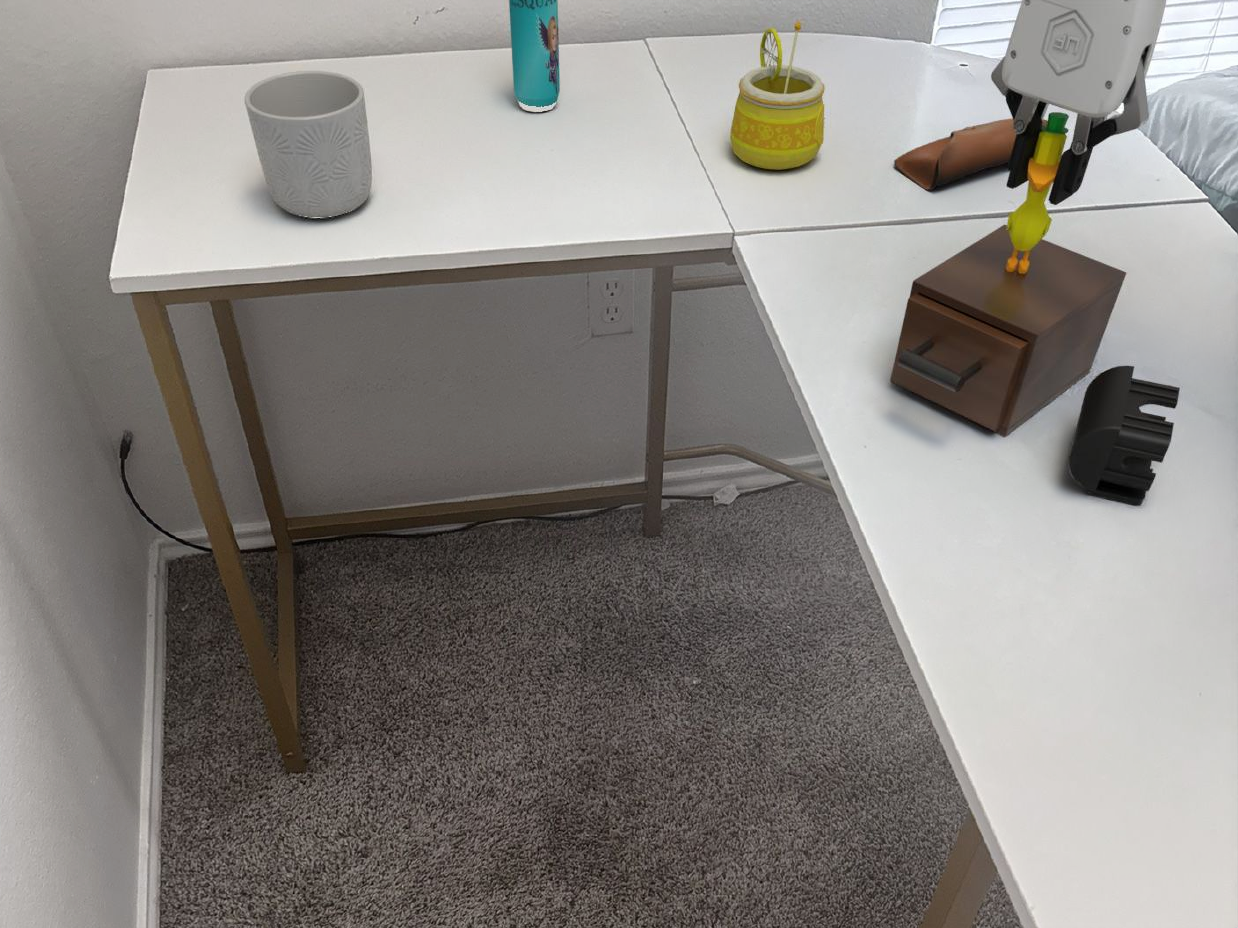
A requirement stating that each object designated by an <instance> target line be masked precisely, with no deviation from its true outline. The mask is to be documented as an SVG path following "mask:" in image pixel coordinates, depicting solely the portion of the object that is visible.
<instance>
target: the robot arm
mask: <svg viewBox="0 0 1238 928" xmlns="http://www.w3.org/2000/svg"><path fill="white" fill-rule="evenodd" d="M1166 5H1167V0H1021V3H1020V6H1019V9H1018V12H1017V15H1016V19H1015V21H1014V25H1013V28H1012V30H1011V34H1010V38H1009V41H1008V43H1007V48H1006V51H1005V55H1004V56H1003V57H1002V58H1001V60H1000V61H999V63H998V64H997V65H996V66H995V68H994V69H993V70H992V72H991V74H990V79H991V81H992V83H993V84H994V85H995V87H996V88H997V89H998V91H999V92H1000V94H1001V95H1002V96H1004V97H1005V102H1006V105H1007V108H1008V110H1009V113H1010V115H1011V117H1012V118H1013V120H1014V122H1013V131H1014V132H1015V133H1016V134H1017V135H1016V138H1015V142H1014V146H1013V149H1012V153H1011V157H1010V161H1009V162H1008V164H1007V171H1009V174H1008V177H1007V180H1006V188H1008V189H1012V190H1014V189H1016V188H1018V187H1020V186H1022V185H1023V184H1025V183H1027V182H1029V181H1028V164H1029V160H1030V158H1033V156H1034V153H1035V149H1036V145H1037V141H1038V137H1039V134H1040V132H1042V131H1043V130H1042V129H1041V128H1042V126H1043V125H1042V123H1043V121H1042V120H1043V119H1044V118H1045V116H1046V114H1047V111H1048V108H1049V106H1050V105H1051V106H1053V107H1058V108H1060V109H1063V110H1066V111H1069V112H1072V113H1074V114H1075V113H1076V120H1075V126H1074V130H1073V135H1072V141H1071V144H1070V147H1069V148H1068V149H1066V150H1065V151H1063V152H1062V156H1061V159H1060V163H1059V166H1058V169H1057V173H1056V176H1055V179H1054V182H1053V183H1052V185H1051V188H1050V189H1051V190H1050V191H1049V196H1048V202H1049V204H1051V205H1054V206H1057V205H1059V204H1060V203H1062V202H1064V201H1065V200H1067V199H1068V198H1070V197H1072V196H1073V195H1074V194H1075V193H1077V192H1078V191H1079V190H1080V188H1081V186H1082V184H1083V180H1084V177H1085V175H1086V172H1087V169H1088V165H1089V162H1090V158H1091V156H1092V153H1093V150H1094V148H1095V147H1096V146H1098V145H1099V144H1101V143H1103V142H1104V141H1105V140H1107V139H1109V138H1111V137H1113V136H1117V135H1120V134H1124V133H1127V132H1131V131H1134V130H1137V129H1139V128H1140V127H1142V126H1144V125H1145V124H1147V122H1148V121H1149V118H1150V116H1149V115H1150V114H1149V104H1148V94H1147V86H1146V85H1147V84H1146V77H1147V74H1148V71H1149V69H1150V64H1151V62H1152V59H1153V55H1154V53H1155V48H1156V44H1157V41H1158V37H1159V34H1160V30H1161V26H1162V22H1163V17H1164V13H1165V9H1166ZM1122 104H1123V111H1122V113H1118V114H1114V115H1111V114H1112V113H1113V112H1115V111H1117V110H1118V109H1119V108H1120V107H1121V105H1122ZM1109 115H1111V116H1110V117H1109V118H1108V116H1109Z"/></svg>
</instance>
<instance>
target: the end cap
mask: <svg viewBox="0 0 1238 928" xmlns="http://www.w3.org/2000/svg"><path fill="white" fill-rule="evenodd" d="M1134 371H1135V365H1118V366H1114V367H1110V368H1108V369H1106V370H1103V371H1102V372H1100V373H1099V374H1098V375H1096V376H1095V377H1094V378H1093V379H1092V380H1091V381H1090V383H1089V384H1088V385H1087V387H1086V390H1085V392H1084V395H1083V400H1082V404H1081V407H1080V410H1079V414H1078V419H1077V423H1076V426H1075V431H1074V434H1073V438H1072V442H1071V445H1070V450H1069V454H1068V459H1067V463H1068V464H1067V465H1068V469H1069V473H1070V475H1071V477H1072V479H1074V481H1075V482H1076V483H1077V484H1079V486H1080V487H1081V488H1082V489H1083V490H1084V491H1085V492H1086V493H1087V494H1089V495H1092V496H1094V497H1096V498H1101V499H1105V500H1106V499H1107V500H1110V501H1115V502H1120V503H1124V504H1129V505H1133V506H1139V505H1141V504H1143V503H1144V499H1145V498H1146V494H1147V492H1149V491H1150V489H1151V487H1152V485H1153V483H1154V480H1155V479H1156V476H1157V473H1156V472H1154V468H1151V467H1152V462H1157V463H1163V461H1164V459H1165V457H1166V455H1167V453H1168V450H1169V447H1170V446H1171V443H1172V442H1171V441H1172V438H1173V437H1172V436H1173V431H1174V425H1175V423H1174V422H1171V421H1167V417H1166V416H1163V415H1159V414H1158V415H1157V414H1152V413H1148V412H1145V411H1144V412H1143V411H1142V410H1141V407H1143V406H1146V405H1154V406H1159V407H1164V408H1170V409H1174V410H1176V408H1177V406H1178V403H1179V395H1180V392H1181V391H1180V390H1181V387H1178V386H1175V385H1174V386H1173V385H1169V384H1164V383H1159V382H1153V381H1148V380H1145V379H1144V380H1143V379H1138V378H1135V377H1134V378H1133V375H1134Z"/></svg>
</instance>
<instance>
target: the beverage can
mask: <svg viewBox="0 0 1238 928" xmlns="http://www.w3.org/2000/svg"><path fill="white" fill-rule="evenodd" d="M508 5H509V8H508V9H509V21H510V22H509V24H510V25H509V26H510V44H511V45H510V46H511V60H512V61H511V62H512V80H513V93H514V95H515V99H516V101H517V100H518V101H519V102H521V103H523V104H525V105H528V106H536V107H541V106H542V107H544V106H549V105H552V104H553V103H555V102H556V101H557V102H558V98H559V95H560V92H561V87H560V86H561V84H560V83H561V81H560V45H559V6H558V0H508ZM518 101H517V102H518ZM557 102H556V103H557Z"/></svg>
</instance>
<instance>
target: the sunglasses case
mask: <svg viewBox="0 0 1238 928" xmlns="http://www.w3.org/2000/svg"><path fill="white" fill-rule="evenodd" d="M1042 121H1043V123H1042V125H1043V126H1045V125H1047V123H1048V119H1044V118H1043V120H1042ZM1013 122H1014V120H1013V117H1012V118H1007V119H998V120H994V121H989V122H985V123H981V124H975V125H972V126H966V127H964V128H962V129H959V130H953V131H951V133H950V136H947V137H943V138H940V139H937V140H934V141H932V142H928V143H926V144H923V145H921V146H917V147H916V148H913V149H911V150H909V151H907V152H904V153H903V154H901V155H900V156H898V157H897V158H896V159H894V160H893V162H894V165H895V167H896V168H897V169H898V170H899V171H900V172H901V173H902V174H903V175H904V176H905V177H907V179H909V180H911V181H912V182H913V183H915V184H916V183H917V185H918V186H919V187H921V188H922V189H924V190H925V191H930V190H933V189H934V188H935V187H936V186H939V187H940V186H943V185H944V186H945V185H946V184H948V183H952V182H954V181H957V180H959V179H962V178H965V177H966V176H968V175H973V174H975V173H978V172H979V171H981V170H987V169H990V168H994V167H998V166H1001V165H1004V164H1006V163H1009V161H1010V157H1011V153H1012V149H1013V146H1014V142H1015V138H1016V135H1017V134H1016V133H1015V132H1014V131H1013Z"/></svg>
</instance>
